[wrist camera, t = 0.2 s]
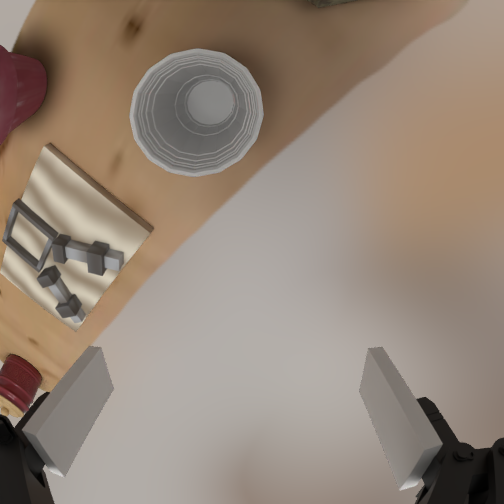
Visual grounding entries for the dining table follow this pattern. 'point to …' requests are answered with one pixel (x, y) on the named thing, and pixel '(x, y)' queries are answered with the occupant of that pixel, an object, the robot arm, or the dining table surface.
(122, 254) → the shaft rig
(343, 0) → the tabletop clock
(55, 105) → the dining table surface
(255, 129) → the plastic cup
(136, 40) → the dining table surface
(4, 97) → the plant pot
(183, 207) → the dining table surface
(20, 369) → the canister
